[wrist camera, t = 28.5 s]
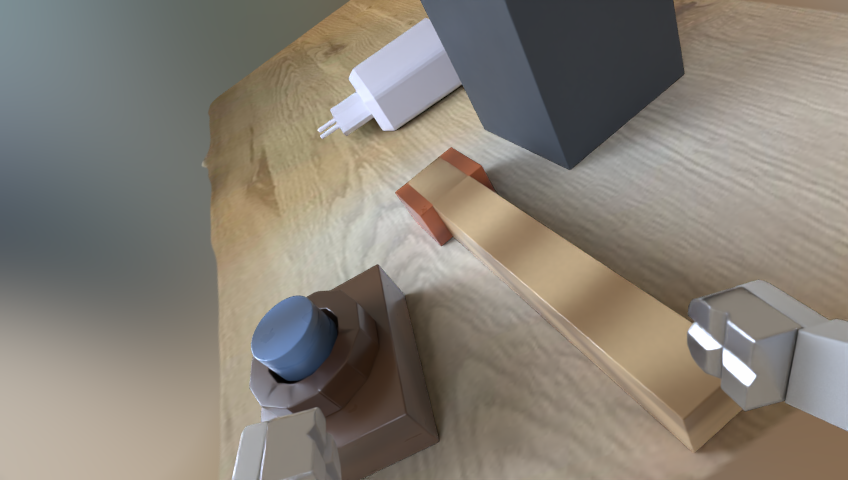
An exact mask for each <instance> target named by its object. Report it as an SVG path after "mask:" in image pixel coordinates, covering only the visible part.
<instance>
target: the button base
mask: <svg viewBox="0 0 848 480" xmlns="http://www.w3.org/2000/svg"><path fill="white" fill-rule="evenodd" d="M307 298H308V299H310V300H311V301H312V302H313V303H314V304H315V305H316V306H317V307H318V308H319V309H320V310H322V311H323V312H324V313H325V314H326V315H327V316H328V317H329V318H330V319H331V320H332V321H333V322H334V323H335V325H336V328H337V339H336V342H335V344H334V346H333V349H332V351H331V354H330V356H329V357H328V358H327V359H326V360H325V361H324V362H323V363H322V365H321V366H320V367H319V368H318V369H317V370H316V371H315V372H314V373H313V374H312V375H310V376H308V377H307V378H305V379H303V380H300V381H288V380H285V379H284V378H282V377H281V376H279V375H278V374H277V373H275V372H274V371H272V370H271V369H270V368H268V367H267V366H265V365H264V364H263V363H261V362H260V361H258V360H257V359H256V358H255V357H254V356H253V358H252V359H253V360H252V365H251V375H250V385H249V386H250V387H249V388H250V390H251V391H252V393H253V394H254V396H255V397H256V399H257V400H258V402H259V403H260V405H261V406H262V411H261V422H265V421H269V420H271V419H274V418H278V417H282V416H286V415H289V414H293V413H297V412H301V411H305V410H308V409H312V408H316V407H318V408H321V410H322V412H323V414H324V416H325V419H326V432H328V433H330V434H332V435H333V437H334V440H335V442H336V445H337V449H338V452H339V458H340V464H341V476H342V480H360V479H363V478H365V477H367V476H369V475H371V474H373V473H375V472H377V471H379V470H381V469H383V468H386V467H388V466H390V465H392V464H394V463H396V462H398V461H400V460H402V459H404V458H406V457H409V456H411V455H413V454H415V453H417V452H419V451H421V450H423V449H425V448H427V447H429V446H432V445H434V444H436V443H438V442H439V438H438V434H437V429H436V425H435V421H434V417H433V413H432V408H431V404H430V400H429V396H428V392H427V388H426V383H425V379H424V375H423V371H422V367H421V363H420V358H419V354H418V350H417V346H416V342H415V338H414V333H413V329H412V325H411V321H410V317H409V312H408V308H407V304H406V300H405V296H404V294H403V292H402V291H401V290H400V289H399V288H398V287H397V285H396V284H395V283H394V282H393V281H392V280H391V279H390V277H389V276H388V275H387V274H386V273H385V272H384V270H383V269H382V268H381V267H380V266H379V265H378V264H377V265H375V266H373V267H372V268H370V269H368V270H366V271H364V272H363V273H361V274H359V275H357V276H355V277H354V278H352V279H350V280H348V281H346V282H345V283H343V284H341V285H339V286H337V287H336V288H334V289H332V290H330V291H318V292H315V293H313V294H311V295H309V296H307Z"/></svg>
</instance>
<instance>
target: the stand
mask: <svg viewBox="0 0 848 480" xmlns="http://www.w3.org/2000/svg"><path fill="white" fill-rule="evenodd" d="M420 1H421V3H422V5H423V7H424V9H425V11H426V13H427V15H428V17H429V19H430V21H431V23H432V25H433V27H434V29H435V31H436V33H437V35H438V37H439V39H440V41H441V43H442V45H443V47H444V49H445V51H446V53H447V55H448V57H449V59H450V61H451V63H452V65H453V67H454V69H455V71H456V73H457V75H458V77H459V79H460V81H461V83H462V85H463V87H464V89H465V91H466V93H467V95H468V97H469V99H470V101H471V103H472V105H473V107H474V109H475V111H476V113H477V115H478V117H479V119H480V121H481V123H482V125H483V127H484V129H485V130H487V131H489V132H492V133H494V134H496V135H498V136H500V137H502V138H504V139H506V140H508V141H510V142H512V143H514V144H517V145H519V146H521V147H523V148H525V149H527V150H529V151H531V152H533V153H535V154H537V155H540V156H542V157H544V158H546V159H548V160H550V161H552V162H554V163H556V164H558V165H560V166H562V167H565V168H567V169H569V170H570V169H572V168H573V167H574V166H575V165H576V164H578V163H579V162H580V161H581V160H582V159H584V158H585V157H586V156H587V155H588V154H589V153H591V152H592V151H593V150H594V149H595V148H597V147H598V146H599V145H600V144H601V143H603V142H604V141H605V140H606V139H607V138H609V137H610V136H611V135H612V134H613V133H614V132H616V131H617V130H618V129H619V128H620V127H622V126H623V125H624V124H625V123H626V122H628V121H629V120H630V119H631V118H632V117H634V116H635V115H636V114H637V113H638V112H640V111H641V110H642V109H643V108H644V107H645V106H647V105H648V104H649V103H650V102H651V101H653V100H654V99H655V98H656V97H657V96H659V95H660V94H661V93H662V92H663V91H665V90H666V89H667V88H668V87H669V86H670V85H672V84H673V83H674V82H675V81H676V80H678V79H679V78H680V77H681V76H682V75H684V67H683V60H682V54H681V47H680V41H679V35H678V28H677V22H676V15H675V9H674V2H673V0H420Z"/></svg>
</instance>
